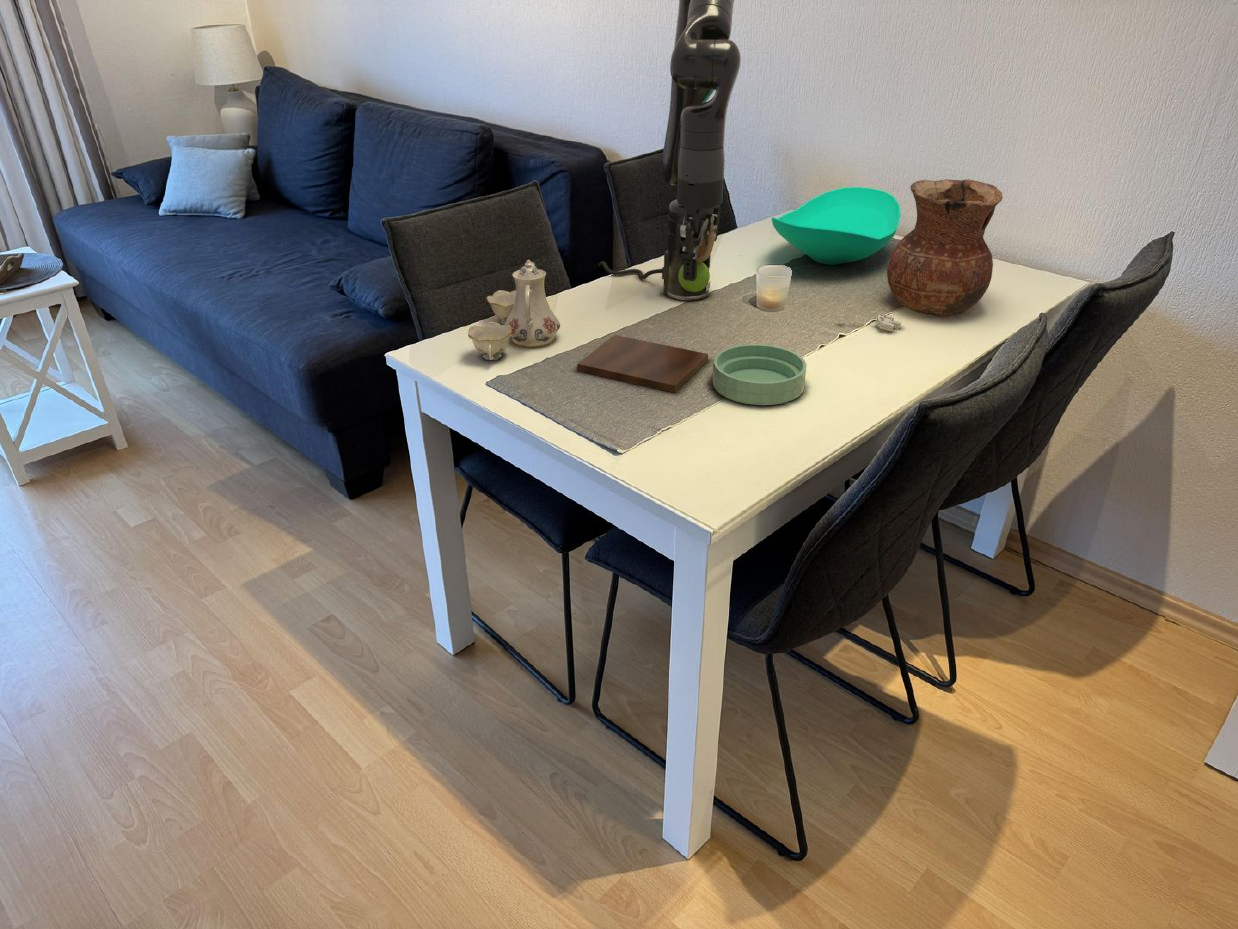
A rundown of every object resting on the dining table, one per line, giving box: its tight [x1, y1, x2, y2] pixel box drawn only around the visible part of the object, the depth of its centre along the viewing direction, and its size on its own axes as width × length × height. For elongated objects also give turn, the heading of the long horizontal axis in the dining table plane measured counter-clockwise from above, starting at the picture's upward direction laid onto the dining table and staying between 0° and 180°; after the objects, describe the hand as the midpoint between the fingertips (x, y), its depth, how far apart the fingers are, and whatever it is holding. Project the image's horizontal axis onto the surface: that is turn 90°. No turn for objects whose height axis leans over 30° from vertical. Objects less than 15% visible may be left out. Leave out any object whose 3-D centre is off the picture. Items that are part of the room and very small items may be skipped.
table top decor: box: [771, 186, 902, 266], centre depth 212 cm, size 40×28×13 cm
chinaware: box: [467, 259, 561, 361], centre depth 172 cm, size 28×17×17 cm, turn 1°
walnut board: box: [576, 334, 709, 394], centre depth 164 cm, size 20×15×2 cm
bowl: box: [711, 343, 808, 406], centre depth 156 cm, size 16×16×4 cm
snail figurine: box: [678, 225, 717, 292], centre depth 150 cm, size 5×6×12 cm
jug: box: [886, 178, 1004, 317], centre depth 183 cm, size 22×21×25 cm
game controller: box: [842, 313, 902, 332], centre depth 178 cm, size 6×12×3 cm, turn 100°
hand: (696, 273), depth 152 cm, fingers closed on snail figurine, 5 cm apart
